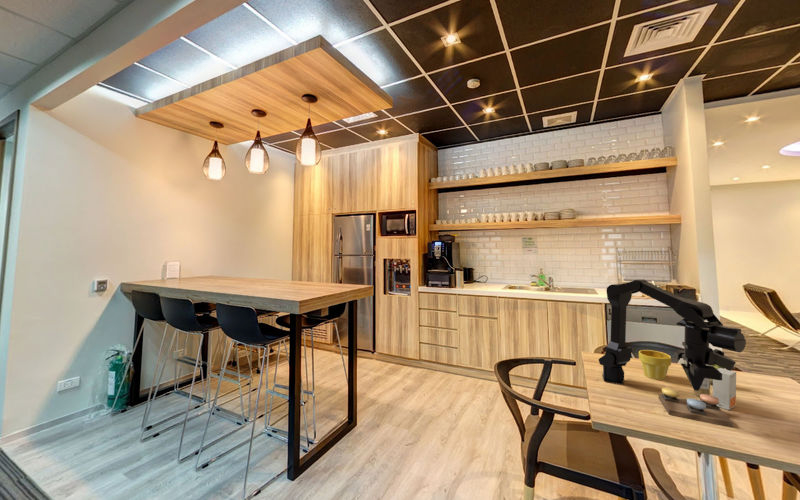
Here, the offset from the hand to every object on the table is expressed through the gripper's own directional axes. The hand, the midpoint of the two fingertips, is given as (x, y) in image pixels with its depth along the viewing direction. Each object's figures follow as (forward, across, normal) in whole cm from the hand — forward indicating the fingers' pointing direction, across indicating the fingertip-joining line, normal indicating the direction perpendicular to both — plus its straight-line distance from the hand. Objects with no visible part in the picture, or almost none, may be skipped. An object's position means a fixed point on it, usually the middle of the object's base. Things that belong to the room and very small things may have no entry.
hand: (696, 390), depth 98 cm
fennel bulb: (+9, +33, -15) cm, 37 cm away
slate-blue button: (+6, 0, 0) cm, 6 cm away
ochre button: (+6, +6, +5) cm, 10 cm away
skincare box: (+9, +13, -11) cm, 19 cm away
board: (+8, +3, 0) cm, 9 cm away
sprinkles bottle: (+9, +19, -7) cm, 22 cm away
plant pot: (+9, +31, +4) cm, 32 cm away
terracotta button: (+6, +6, -5) cm, 10 cm away
